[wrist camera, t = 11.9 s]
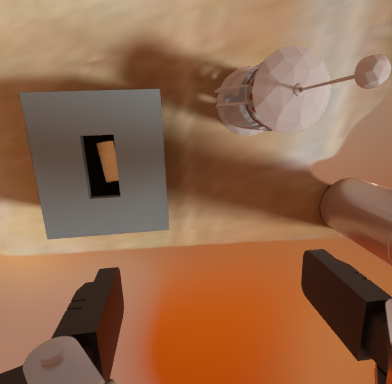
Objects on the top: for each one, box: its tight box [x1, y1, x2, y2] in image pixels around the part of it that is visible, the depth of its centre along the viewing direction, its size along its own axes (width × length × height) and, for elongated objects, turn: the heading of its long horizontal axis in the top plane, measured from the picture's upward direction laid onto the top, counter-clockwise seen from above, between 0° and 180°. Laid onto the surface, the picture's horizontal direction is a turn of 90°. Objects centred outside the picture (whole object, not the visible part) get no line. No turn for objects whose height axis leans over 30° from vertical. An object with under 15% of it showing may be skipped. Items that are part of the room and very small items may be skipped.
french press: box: [214, 45, 391, 136], centre depth 27 cm, size 10×12×25 cm
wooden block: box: [96, 139, 119, 183], centre depth 36 cm, size 2×5×6 cm, turn 9°
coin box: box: [19, 89, 169, 239], centre depth 34 cm, size 14×16×10 cm
